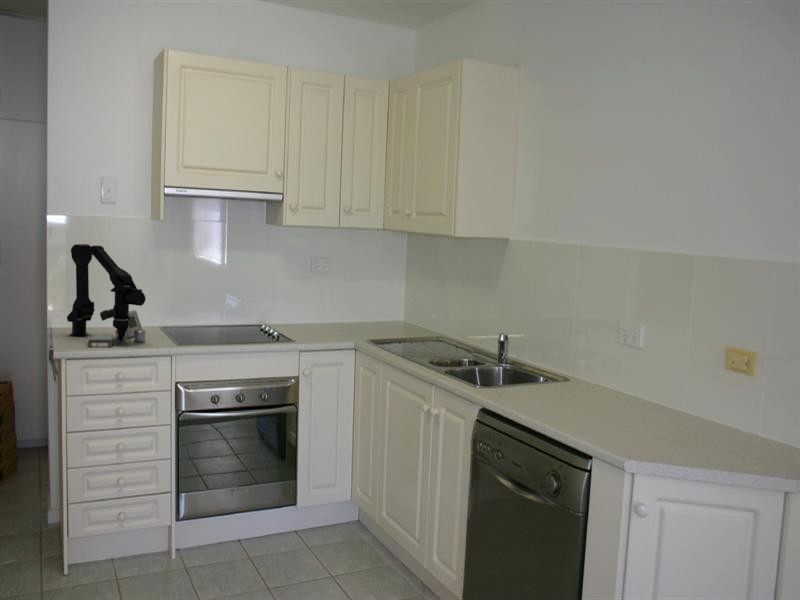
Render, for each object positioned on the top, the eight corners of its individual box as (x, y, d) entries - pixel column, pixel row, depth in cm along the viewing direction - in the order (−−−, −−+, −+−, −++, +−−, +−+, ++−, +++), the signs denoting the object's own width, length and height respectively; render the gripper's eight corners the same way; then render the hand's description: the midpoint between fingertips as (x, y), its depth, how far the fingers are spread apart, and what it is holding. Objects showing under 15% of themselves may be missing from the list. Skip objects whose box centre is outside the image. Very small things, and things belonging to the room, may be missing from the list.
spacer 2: (134, 341, 317) (134, 329, 316) (145, 341, 318) (145, 329, 318) (134, 343, 313) (134, 331, 312) (145, 343, 314) (145, 331, 314)
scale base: (89, 342, 308) (89, 337, 307) (112, 342, 311) (112, 337, 310) (87, 347, 298) (87, 342, 298) (111, 347, 301) (111, 342, 301)
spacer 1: (115, 341, 314) (115, 329, 314) (126, 341, 316) (126, 329, 315) (115, 343, 310) (115, 331, 310) (126, 343, 312) (126, 331, 311)
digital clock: (127, 339, 320) (128, 315, 319) (109, 337, 323) (109, 313, 321) (148, 334, 336) (149, 311, 335) (131, 332, 338) (132, 309, 337)
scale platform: (89, 335, 307) (89, 333, 307) (112, 335, 310) (112, 333, 310) (87, 339, 298) (87, 337, 298) (111, 339, 301) (111, 337, 301)
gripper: (102, 299, 317) (101, 335, 319) (100, 305, 300) (99, 343, 302) (129, 300, 321) (129, 335, 323) (129, 306, 304) (128, 343, 305)
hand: (120, 339), depth 313 cm, fingers open, 6 cm apart
